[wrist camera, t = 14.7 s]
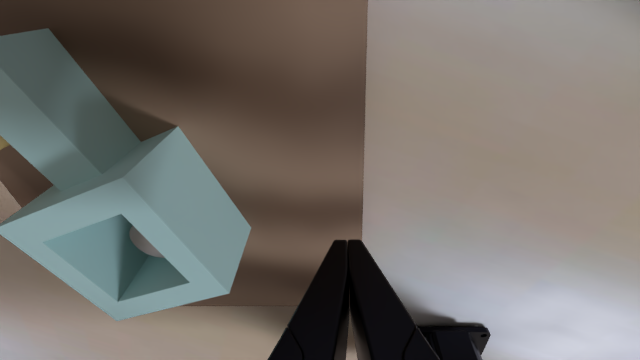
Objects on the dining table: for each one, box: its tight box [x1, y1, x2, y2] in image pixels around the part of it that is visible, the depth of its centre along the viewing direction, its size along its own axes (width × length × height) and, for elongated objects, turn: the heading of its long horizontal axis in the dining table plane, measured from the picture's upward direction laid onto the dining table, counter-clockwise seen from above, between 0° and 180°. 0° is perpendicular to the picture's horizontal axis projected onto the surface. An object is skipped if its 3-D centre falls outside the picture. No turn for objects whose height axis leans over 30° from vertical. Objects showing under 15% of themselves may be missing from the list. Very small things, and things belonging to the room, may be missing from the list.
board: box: [0, 0, 368, 306], centre depth 16 cm, size 20×20×4 cm
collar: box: [0, 28, 251, 321], centre depth 14 cm, size 12×7×4 cm, turn 23°
